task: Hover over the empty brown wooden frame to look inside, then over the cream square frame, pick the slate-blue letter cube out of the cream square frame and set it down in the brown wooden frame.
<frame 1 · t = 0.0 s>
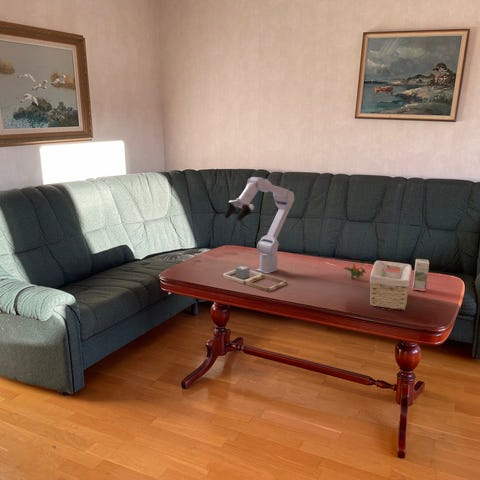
hand: (231, 218, 213), 32 cm above the table, tool tilted 50°, fingers open, 7 cm apart
brown wooden frame: (265, 284, 221), on the table
letter cube: (242, 277, 231), resting in cream square frame
syrup box: (418, 290, 217), on the table
storage basket: (388, 301, 204), on the table
cream square frame: (242, 276, 231), on the table
figurine: (353, 279, 231), on the table
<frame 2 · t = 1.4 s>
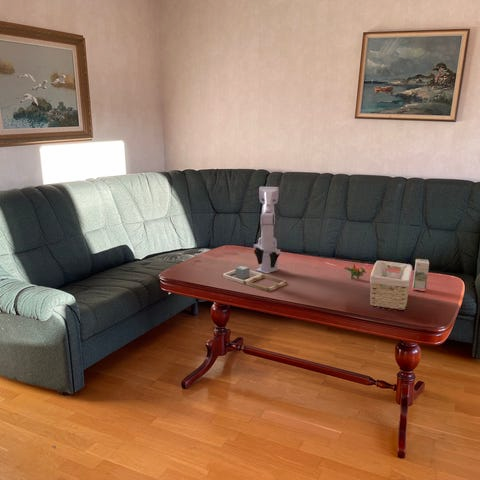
hand: (266, 265, 219), 9 cm above the table, tool pointing down, fingers open, 7 cm apart
nothing on the table moved.
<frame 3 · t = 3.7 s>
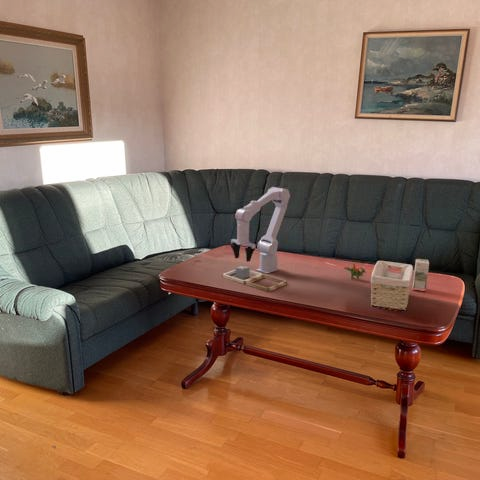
hand: (242, 259, 229), 9 cm above the table, tool pointing down, fingers open, 7 cm apart
nothing on the table moved.
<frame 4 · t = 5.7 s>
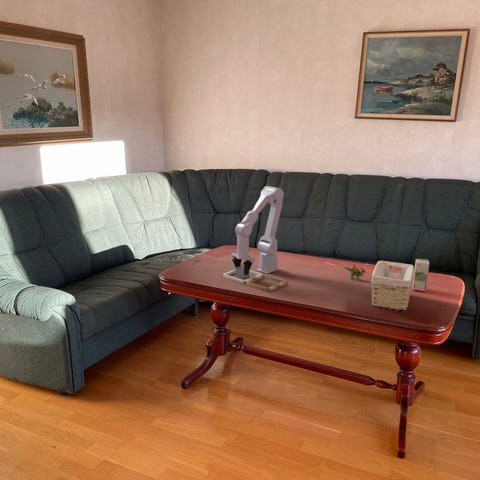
hand: (242, 273, 230), 2 cm above the table, tool pointing down, fingers closed on letter cube, 5 cm apart
letter cube: (242, 276, 231), resting in cream square frame, touching gripper
everything else where it was.
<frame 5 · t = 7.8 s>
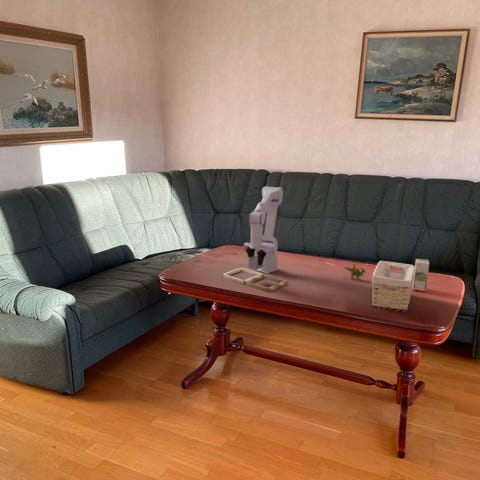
hand: (255, 263, 223), 9 cm above the table, tool pointing down, fingers closed on letter cube, 5 cm apart
letter cube: (255, 267, 224), point 7 cm above the table, touching gripper
when the fingers open (4 cm above the table, at t = 10.2 s): letter cube drops 2 cm, resting in brown wooden frame.
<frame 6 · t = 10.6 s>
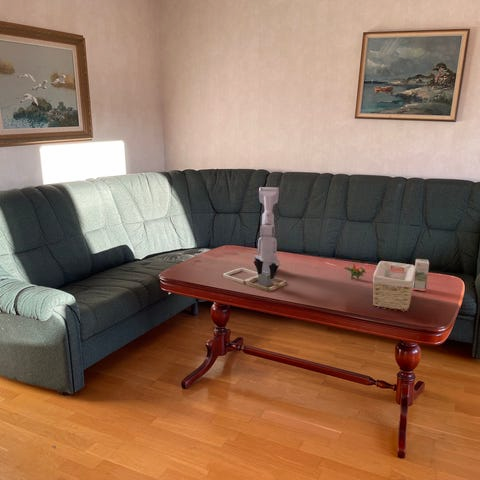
hand: (266, 276, 220), 4 cm above the table, tool pointing down, fingers open, 7 cm apart
letter cube: (265, 284, 221), resting in brown wooden frame
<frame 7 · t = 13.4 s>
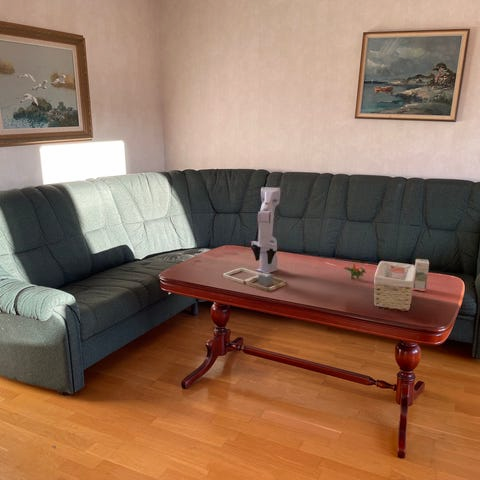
hand: (263, 262, 224), 9 cm above the table, tool pointing down, fingers open, 7 cm apart
at the end: letter cube inside the target area on the brown wooden frame (0.1 cm from its centre), point 0.0 cm above the brown wooden frame's base; letter cube tilted 0°; the gripper is holding nothing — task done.
